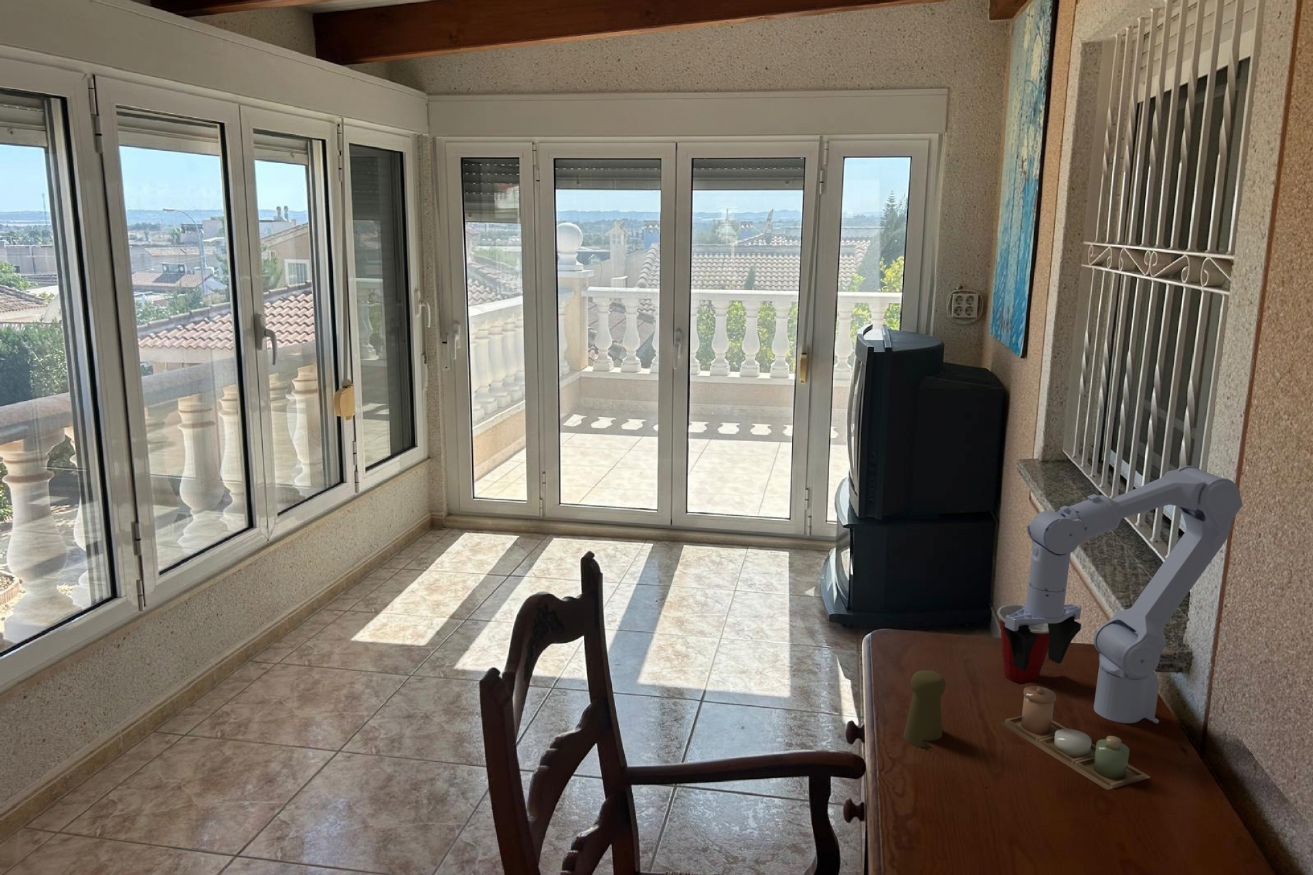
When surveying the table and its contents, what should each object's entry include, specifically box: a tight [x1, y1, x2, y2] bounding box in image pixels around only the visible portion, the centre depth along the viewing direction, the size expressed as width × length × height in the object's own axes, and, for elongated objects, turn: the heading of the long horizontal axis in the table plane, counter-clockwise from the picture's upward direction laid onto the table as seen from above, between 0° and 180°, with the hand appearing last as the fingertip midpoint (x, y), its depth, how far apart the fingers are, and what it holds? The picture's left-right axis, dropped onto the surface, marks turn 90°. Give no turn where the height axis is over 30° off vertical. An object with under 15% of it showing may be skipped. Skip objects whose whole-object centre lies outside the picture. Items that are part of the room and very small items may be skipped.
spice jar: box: [1021, 685, 1057, 734], centre depth 158 cm, size 5×5×7 cm
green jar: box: [1093, 735, 1130, 780], centre depth 145 cm, size 4×4×5 cm
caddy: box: [999, 715, 1152, 791], centre depth 152 cm, size 9×21×2 cm, turn 25°
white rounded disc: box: [1054, 728, 1093, 758], centre depth 152 cm, size 5×5×2 cm
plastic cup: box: [996, 604, 1049, 684], centre depth 178 cm, size 11×11×12 cm
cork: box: [903, 669, 946, 749], centre depth 155 cm, size 6×6×11 cm
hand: (1037, 664), depth 161 cm, fingers open, 7 cm apart
